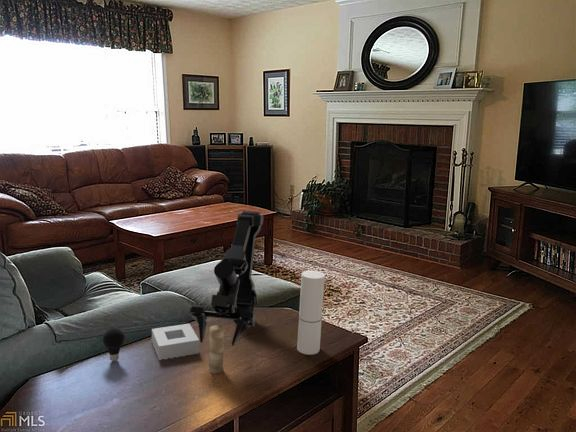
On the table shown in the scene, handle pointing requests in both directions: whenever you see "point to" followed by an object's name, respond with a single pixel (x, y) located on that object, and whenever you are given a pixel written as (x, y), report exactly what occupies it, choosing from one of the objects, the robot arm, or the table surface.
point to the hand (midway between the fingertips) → (216, 343)
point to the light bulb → (113, 342)
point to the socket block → (175, 341)
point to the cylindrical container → (310, 312)
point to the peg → (216, 349)
